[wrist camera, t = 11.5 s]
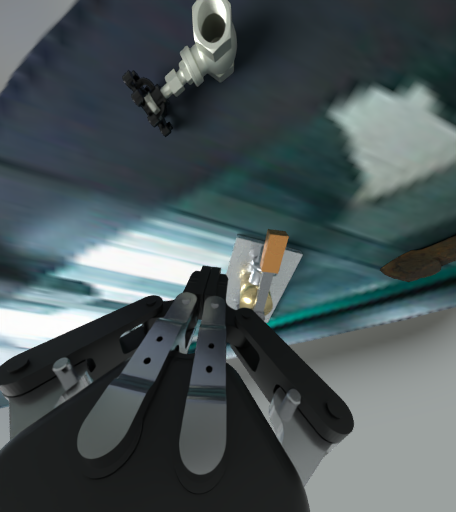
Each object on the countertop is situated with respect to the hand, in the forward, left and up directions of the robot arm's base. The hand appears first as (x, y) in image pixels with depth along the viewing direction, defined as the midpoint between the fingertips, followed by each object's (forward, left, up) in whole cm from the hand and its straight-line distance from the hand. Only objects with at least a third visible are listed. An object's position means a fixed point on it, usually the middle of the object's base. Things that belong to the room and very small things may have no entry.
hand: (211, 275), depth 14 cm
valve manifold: (+8, -11, -17) cm, 22 cm away
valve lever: (+7, -5, -9) cm, 13 cm away
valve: (-8, +16, -18) cm, 25 cm away
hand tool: (+36, +5, -18) cm, 41 cm away
